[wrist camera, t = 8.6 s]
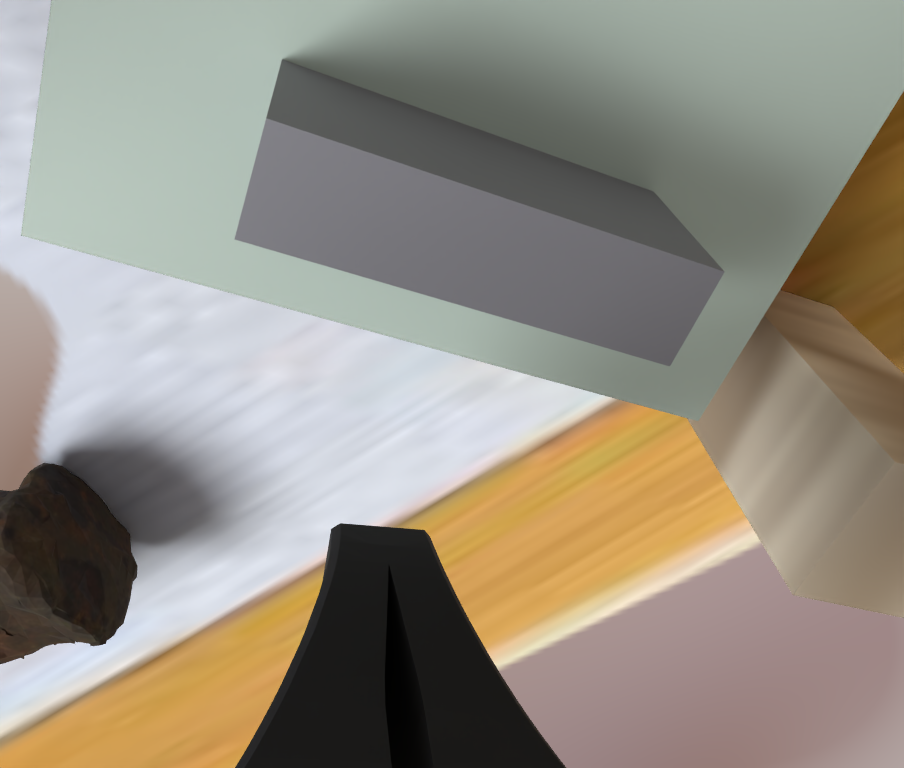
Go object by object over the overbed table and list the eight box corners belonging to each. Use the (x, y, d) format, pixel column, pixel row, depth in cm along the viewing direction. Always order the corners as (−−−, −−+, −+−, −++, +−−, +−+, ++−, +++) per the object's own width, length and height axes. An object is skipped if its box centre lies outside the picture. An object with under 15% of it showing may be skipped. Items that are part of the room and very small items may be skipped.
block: (664, 380, 21) (792, 595, 15) (726, 272, 19) (894, 461, 13) (767, 409, 21) (927, 622, 16) (833, 307, 20) (1037, 500, 14)
